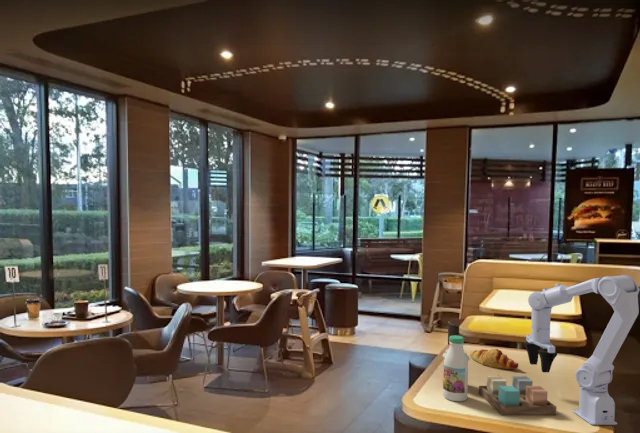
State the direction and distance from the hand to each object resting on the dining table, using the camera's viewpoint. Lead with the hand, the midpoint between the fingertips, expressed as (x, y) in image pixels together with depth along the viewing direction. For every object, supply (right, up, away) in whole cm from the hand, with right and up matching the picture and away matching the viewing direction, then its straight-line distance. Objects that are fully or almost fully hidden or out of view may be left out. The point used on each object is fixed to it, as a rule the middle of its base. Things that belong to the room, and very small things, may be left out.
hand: (539, 368), depth 155 cm
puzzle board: (-11, -9, -7) cm, 16 cm away
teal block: (-15, -8, -11) cm, 20 cm away
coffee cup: (-26, -9, +8) cm, 29 cm away
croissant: (-3, -9, +32) cm, 34 cm away
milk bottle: (-29, -9, -3) cm, 31 cm away
